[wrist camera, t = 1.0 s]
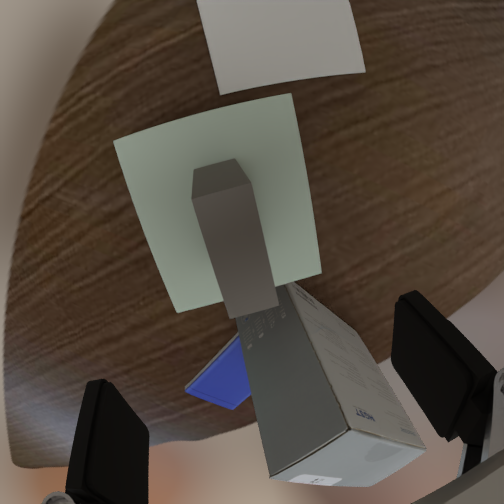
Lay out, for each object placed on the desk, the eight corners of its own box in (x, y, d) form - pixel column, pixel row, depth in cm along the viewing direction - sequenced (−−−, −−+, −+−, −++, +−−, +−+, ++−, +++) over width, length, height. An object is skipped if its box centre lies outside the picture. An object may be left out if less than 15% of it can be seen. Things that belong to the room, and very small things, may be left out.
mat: (335, -33, 21) (337, -35, 20) (362, 72, 26) (365, 72, 26) (191, -20, 20) (191, -22, 20) (220, 95, 26) (220, 95, 25)
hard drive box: (231, 315, 36) (264, 479, 18) (279, 268, 34) (352, 425, 16) (317, 366, 42) (369, 489, 24) (358, 330, 40) (431, 449, 23)
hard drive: (241, 334, 36) (184, 392, 39) (292, 359, 39) (233, 410, 42) (239, 326, 37) (184, 384, 41) (289, 351, 41) (232, 402, 44)
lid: (283, 94, 21) (332, 89, 13) (313, 261, 27) (357, 326, 19) (120, 138, 20) (75, 159, 12) (177, 299, 27) (174, 377, 19)
